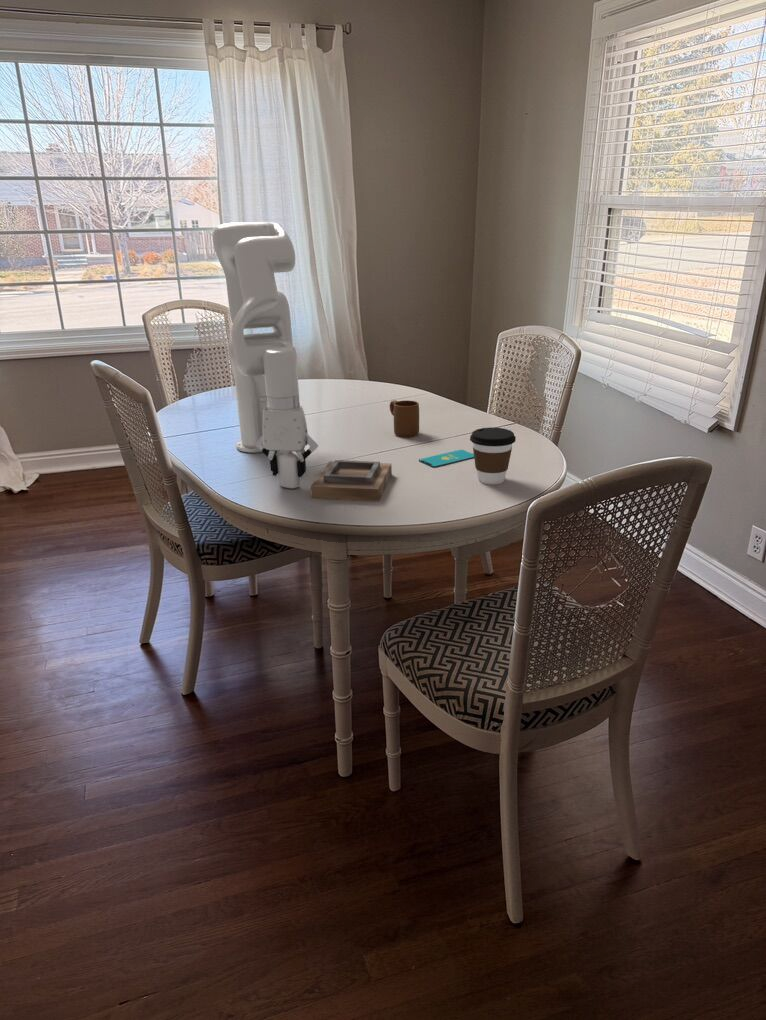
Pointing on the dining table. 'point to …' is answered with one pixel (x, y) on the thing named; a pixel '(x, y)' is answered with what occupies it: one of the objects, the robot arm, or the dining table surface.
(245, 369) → the robot arm
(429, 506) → the dining table surface
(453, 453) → the smartphone
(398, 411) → the mug
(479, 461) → the coffee cup
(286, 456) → the eye dropper bottle
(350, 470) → the display stand
